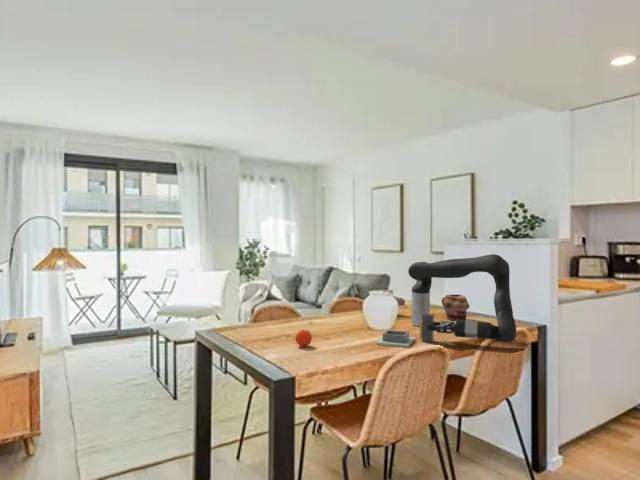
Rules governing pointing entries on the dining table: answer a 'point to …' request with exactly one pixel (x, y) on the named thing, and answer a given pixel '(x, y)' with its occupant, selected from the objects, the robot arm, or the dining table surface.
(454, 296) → the decorative planter
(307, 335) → the red rounded piece
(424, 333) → the dark grey block
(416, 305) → the robot arm
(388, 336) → the dock
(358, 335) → the dining table surface
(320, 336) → the dining table surface
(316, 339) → the dining table surface
